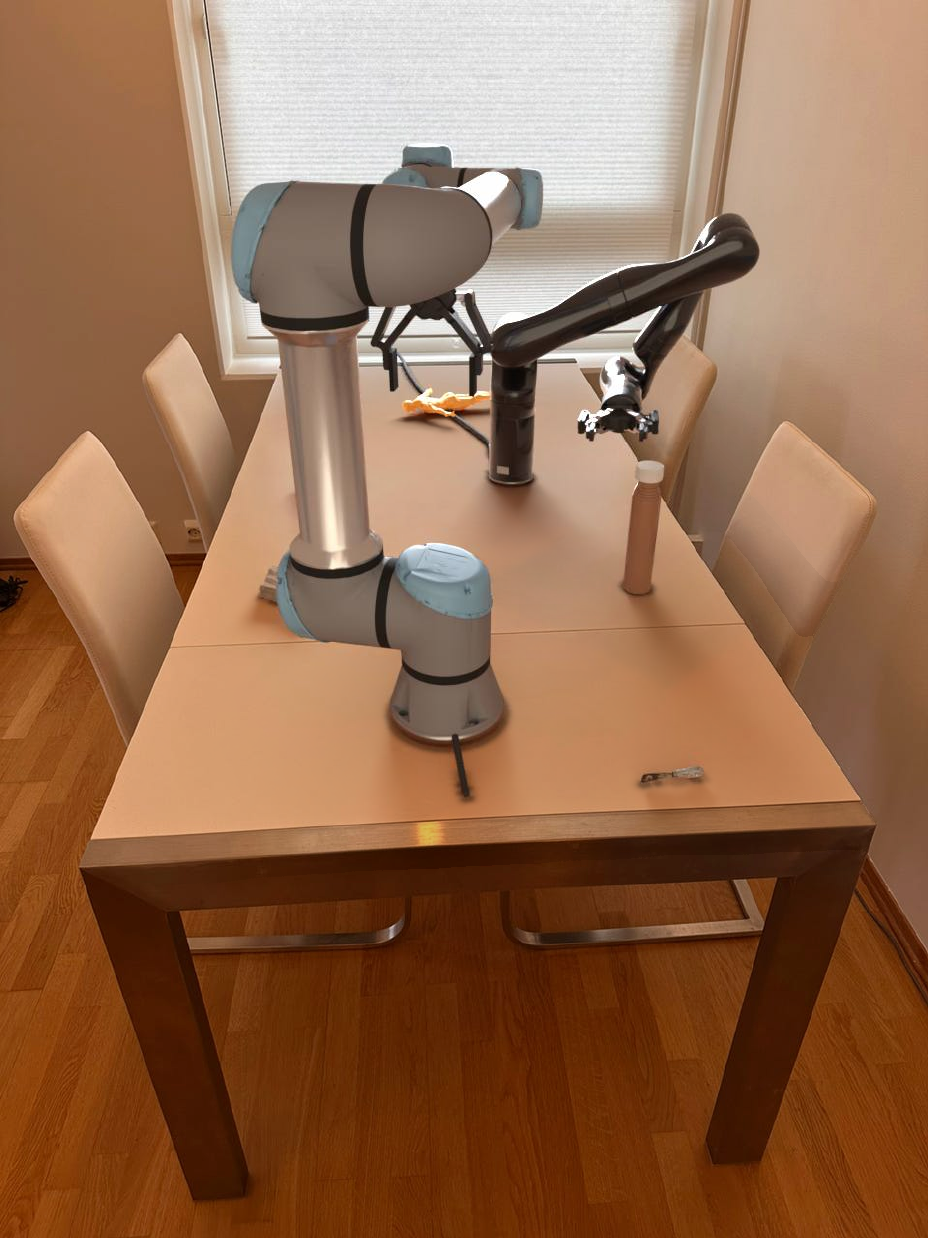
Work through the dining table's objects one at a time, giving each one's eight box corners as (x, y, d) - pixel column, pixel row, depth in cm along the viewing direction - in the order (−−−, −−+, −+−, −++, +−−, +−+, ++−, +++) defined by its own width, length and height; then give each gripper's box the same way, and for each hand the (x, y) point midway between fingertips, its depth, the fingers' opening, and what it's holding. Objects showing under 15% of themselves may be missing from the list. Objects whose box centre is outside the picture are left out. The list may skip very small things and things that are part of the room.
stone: (348, 583, 151) (347, 570, 149) (311, 618, 141) (310, 604, 140) (283, 570, 155) (281, 557, 154) (243, 602, 146) (241, 589, 144)
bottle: (633, 577, 152) (646, 460, 141) (655, 587, 150) (670, 467, 138) (617, 587, 150) (629, 468, 138) (639, 597, 147) (653, 476, 135)
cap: (645, 470, 142) (646, 458, 141) (668, 477, 139) (670, 465, 138) (629, 478, 139) (630, 465, 138) (652, 485, 136) (654, 473, 135)
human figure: (395, 413, 223) (394, 398, 221) (438, 390, 237) (438, 375, 235) (462, 429, 215) (462, 413, 213) (502, 404, 229) (503, 388, 227)
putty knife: (703, 777, 109) (705, 767, 109) (642, 788, 108) (644, 777, 107) (700, 772, 110) (702, 762, 109) (639, 782, 109) (640, 771, 108)
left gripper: (513, 255, 139) (510, 389, 150) (360, 249, 144) (368, 380, 155) (505, 264, 133) (502, 403, 144) (345, 258, 137) (355, 393, 149)
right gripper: (583, 386, 167) (574, 415, 154) (660, 386, 164) (659, 415, 151) (583, 425, 171) (575, 456, 158) (659, 425, 168) (657, 457, 155)
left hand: (433, 391), depth 149 cm, fingers open, 13 cm apart
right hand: (616, 436), depth 154 cm, fingers open, 8 cm apart
